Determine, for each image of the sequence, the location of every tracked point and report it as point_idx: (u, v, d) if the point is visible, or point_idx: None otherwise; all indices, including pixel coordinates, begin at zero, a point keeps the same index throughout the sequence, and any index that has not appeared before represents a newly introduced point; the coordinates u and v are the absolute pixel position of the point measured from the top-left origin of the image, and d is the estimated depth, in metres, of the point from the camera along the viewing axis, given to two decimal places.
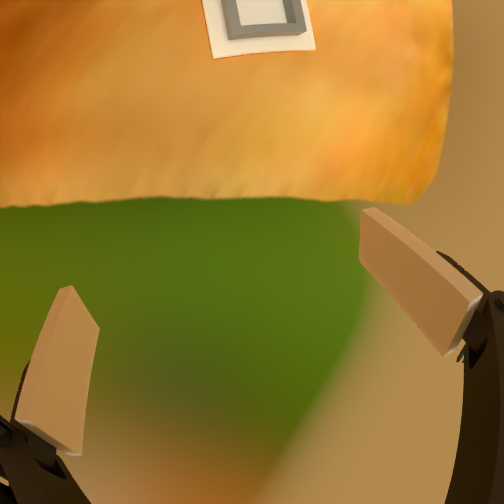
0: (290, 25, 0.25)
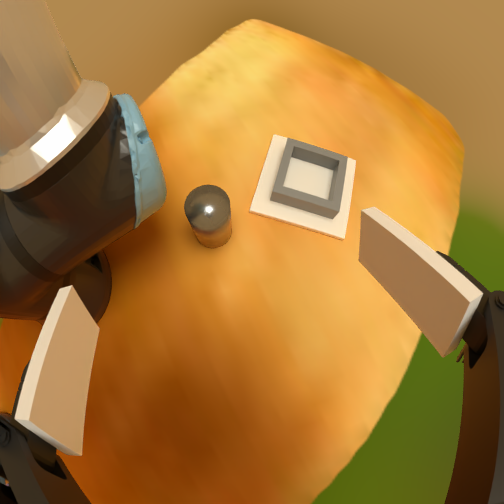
0: (341, 166, 0.38)
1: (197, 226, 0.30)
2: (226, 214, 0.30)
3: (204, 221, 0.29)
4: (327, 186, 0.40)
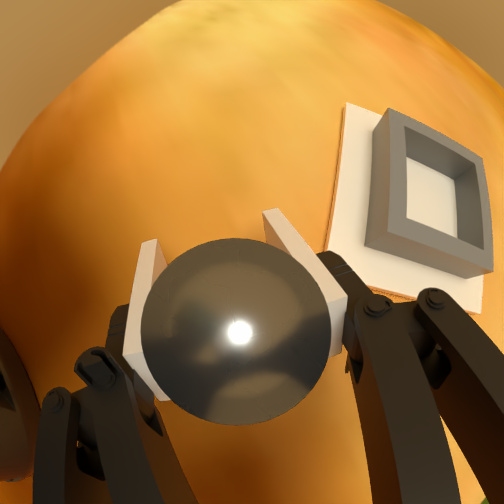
0: (479, 175, 0.15)
1: None
2: (319, 369, 0.07)
3: (230, 404, 0.06)
4: (453, 212, 0.17)
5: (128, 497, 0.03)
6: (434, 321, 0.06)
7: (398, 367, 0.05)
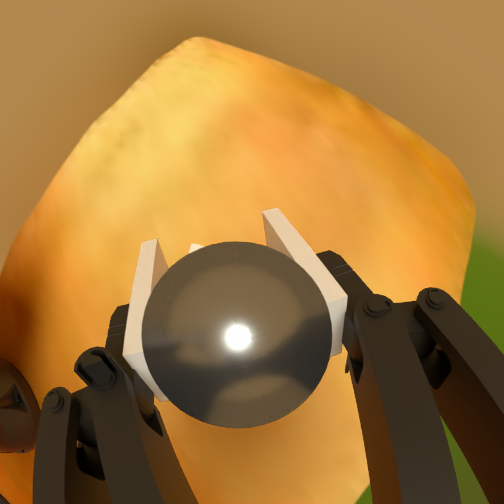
0: None
1: None
2: (320, 372, 0.07)
3: (232, 407, 0.06)
4: None
5: (128, 497, 0.03)
6: (434, 321, 0.06)
7: (398, 367, 0.05)
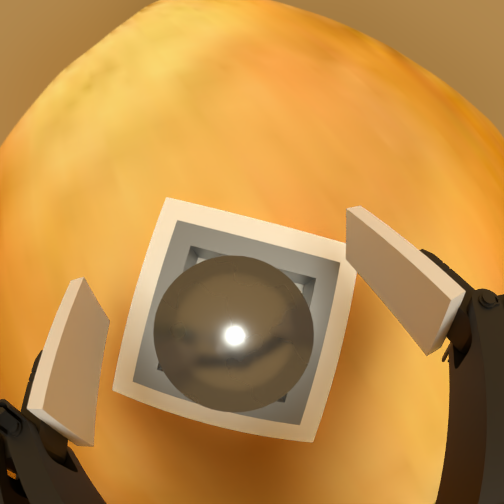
0: (319, 295, 0.15)
1: None
2: (303, 366, 0.08)
3: (229, 394, 0.08)
4: None
5: None
6: None
7: (499, 353, 0.04)
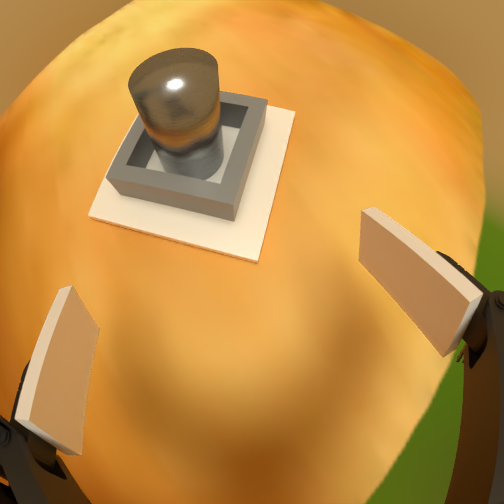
0: (250, 115, 0.19)
1: (148, 106, 0.12)
2: (209, 80, 0.12)
3: (163, 93, 0.12)
4: None
5: None
6: None
7: None
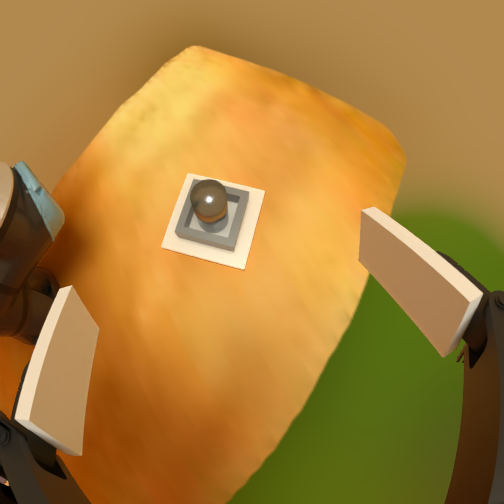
0: (241, 201, 0.43)
1: (200, 212, 0.37)
2: (224, 202, 0.37)
3: (206, 208, 0.36)
4: (232, 220, 0.46)
5: None
6: None
7: None
